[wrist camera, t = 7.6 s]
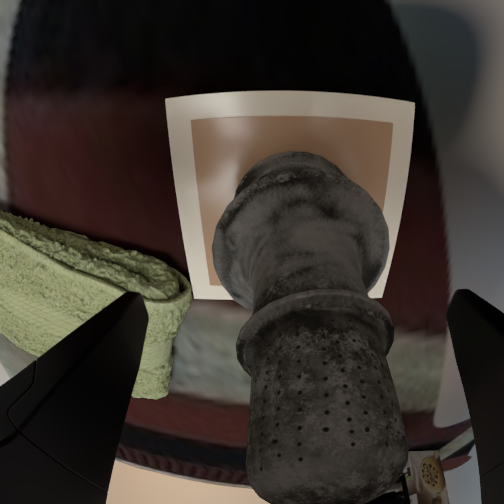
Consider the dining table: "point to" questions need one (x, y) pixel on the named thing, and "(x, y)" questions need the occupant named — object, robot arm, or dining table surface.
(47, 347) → the washcloth
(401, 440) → the salt shaker
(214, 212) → the coaster
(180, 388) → the dining table surface
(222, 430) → the dining table surface
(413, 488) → the coffee box
